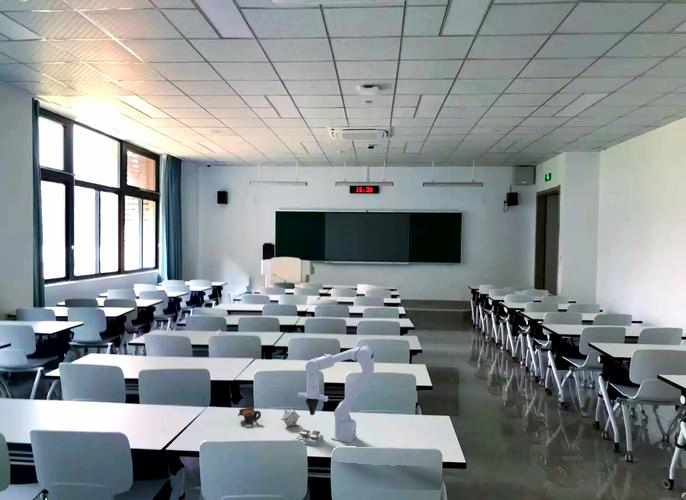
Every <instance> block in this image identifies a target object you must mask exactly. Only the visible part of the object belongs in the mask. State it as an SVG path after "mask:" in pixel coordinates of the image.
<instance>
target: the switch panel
mask: <svg viewBox="0 0 686 500" xmlns="http://www.w3.org/2000/svg"><path fill="white" fill-rule="evenodd" d="M311 434H312V432H310V433H309V434H308V435H307V436H303V435H300V434H299V435H298V436H297V437H296V438H295V440H296V439H299V440H303V441H304V442H305V443H306V444H305V445H308V446H312V447H316V446H317V447H318V446H319V445H320V443H321V442H323V441H324V435H322V434H319V435H318V437H317V439H312V438H310V436H311Z"/></svg>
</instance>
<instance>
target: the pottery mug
mask: <svg viewBox="0 0 686 500" xmlns="http://www.w3.org/2000/svg"><path fill="white" fill-rule="evenodd" d="M238 411H239V413H238V415H237V417H240V416H241V417H243V418H244V419H243V420H241V421H240V423H241V426H244V427H245V426H254V423H256V422H257V421H258V420H260V418H261V417H262V412H261V411H260V410H255V408H254V407H244V408H241V409H238Z"/></svg>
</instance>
